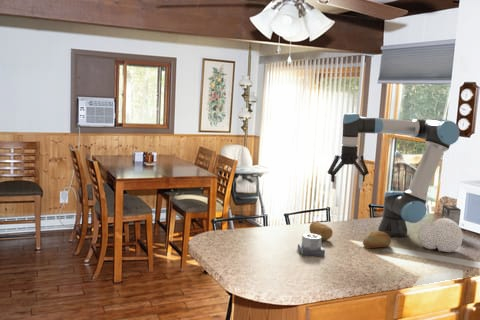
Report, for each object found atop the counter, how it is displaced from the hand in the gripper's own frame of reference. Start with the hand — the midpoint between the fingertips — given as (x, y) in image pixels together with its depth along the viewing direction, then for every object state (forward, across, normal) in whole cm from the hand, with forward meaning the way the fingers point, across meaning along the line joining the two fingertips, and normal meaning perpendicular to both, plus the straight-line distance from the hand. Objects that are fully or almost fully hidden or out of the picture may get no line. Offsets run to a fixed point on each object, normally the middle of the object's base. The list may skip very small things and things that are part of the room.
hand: (347, 188), depth 233 cm
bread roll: (+28, -13, +9) cm, 32 cm away
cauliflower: (+28, -42, +14) cm, 53 cm away
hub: (+23, +23, +18) cm, 37 cm away
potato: (+27, +11, -3) cm, 29 cm away
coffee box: (+29, -63, -10) cm, 70 cm away
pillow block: (+26, +23, +18) cm, 39 cm away
